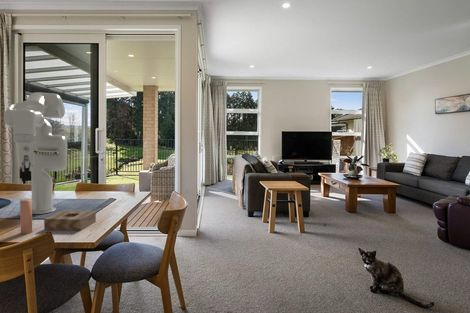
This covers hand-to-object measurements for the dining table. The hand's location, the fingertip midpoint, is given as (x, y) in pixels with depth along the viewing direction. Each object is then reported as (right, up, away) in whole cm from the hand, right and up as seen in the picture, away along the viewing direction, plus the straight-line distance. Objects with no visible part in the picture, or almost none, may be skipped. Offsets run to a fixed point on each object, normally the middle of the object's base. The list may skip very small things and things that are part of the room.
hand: (25, 179), depth 122 cm
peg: (-1, -23, +2) cm, 23 cm away
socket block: (+12, -22, +13) cm, 29 cm away
